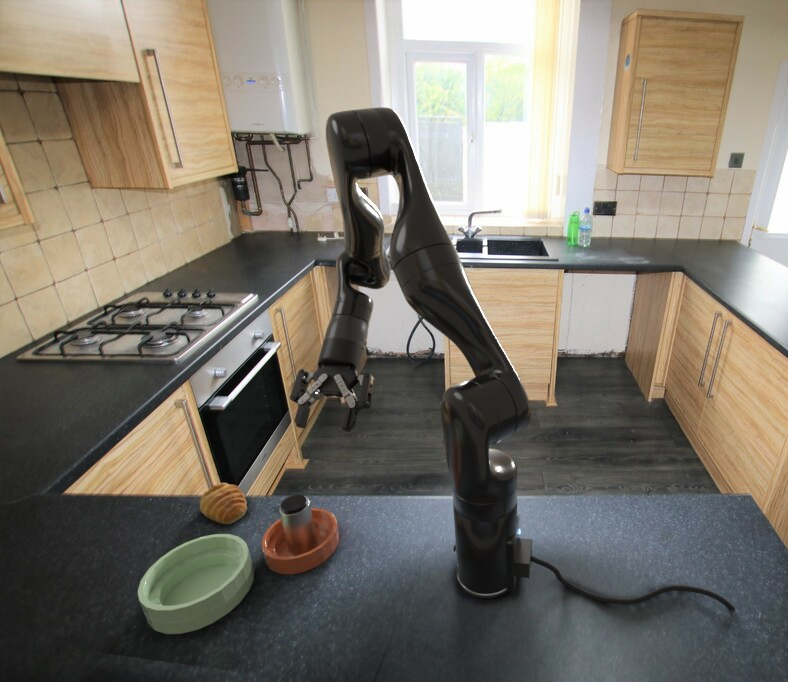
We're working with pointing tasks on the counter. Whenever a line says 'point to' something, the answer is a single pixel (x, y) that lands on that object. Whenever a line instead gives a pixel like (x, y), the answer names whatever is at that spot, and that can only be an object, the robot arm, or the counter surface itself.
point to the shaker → (298, 524)
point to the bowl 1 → (196, 583)
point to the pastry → (223, 503)
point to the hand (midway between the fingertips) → (323, 429)
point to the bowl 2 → (288, 564)
